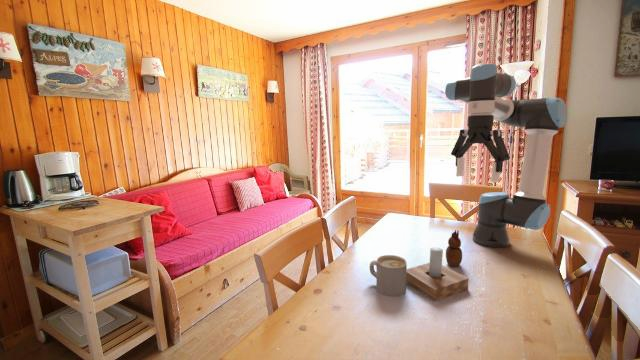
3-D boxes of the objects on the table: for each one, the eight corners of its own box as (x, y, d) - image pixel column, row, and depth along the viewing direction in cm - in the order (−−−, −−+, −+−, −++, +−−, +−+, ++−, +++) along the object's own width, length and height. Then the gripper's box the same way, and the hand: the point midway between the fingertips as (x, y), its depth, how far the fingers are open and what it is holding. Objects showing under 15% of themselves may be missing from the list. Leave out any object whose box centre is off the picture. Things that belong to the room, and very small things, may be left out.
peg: (434, 277, 111) (436, 246, 109) (443, 283, 108) (445, 250, 105) (425, 280, 110) (427, 248, 107) (434, 285, 106) (436, 253, 104)
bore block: (434, 271, 119) (434, 261, 118) (467, 289, 105) (468, 278, 105) (403, 280, 112) (403, 270, 112) (434, 301, 99) (435, 289, 98)
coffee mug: (412, 289, 106) (412, 262, 105) (392, 299, 101) (392, 270, 99) (382, 274, 117) (383, 249, 115) (363, 283, 111) (363, 256, 110)
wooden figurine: (463, 269, 120) (465, 231, 117) (447, 268, 121) (449, 231, 118) (459, 261, 126) (461, 226, 123) (444, 260, 127) (445, 225, 125)
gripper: (442, 116, 111) (439, 174, 115) (510, 113, 89) (504, 186, 93) (457, 115, 114) (454, 172, 118) (527, 113, 92) (520, 183, 96)
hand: (476, 178), depth 105 cm, fingers open, 13 cm apart
